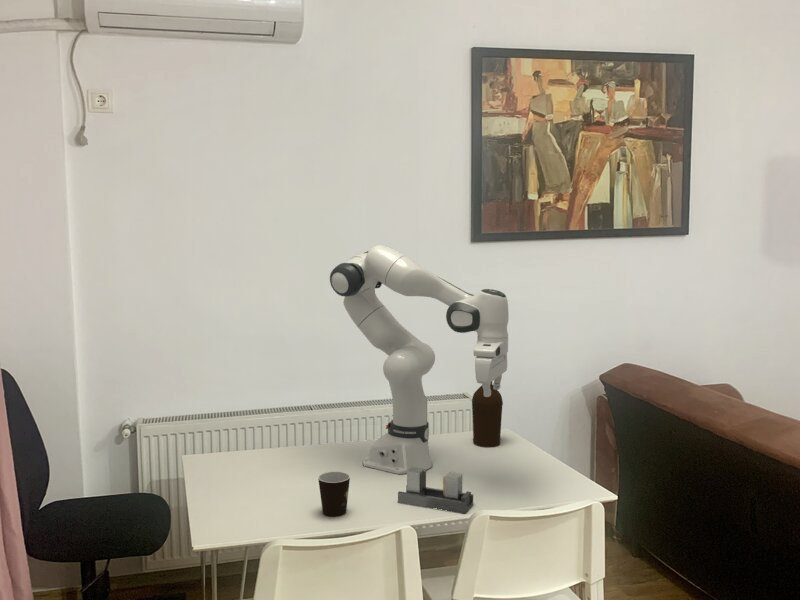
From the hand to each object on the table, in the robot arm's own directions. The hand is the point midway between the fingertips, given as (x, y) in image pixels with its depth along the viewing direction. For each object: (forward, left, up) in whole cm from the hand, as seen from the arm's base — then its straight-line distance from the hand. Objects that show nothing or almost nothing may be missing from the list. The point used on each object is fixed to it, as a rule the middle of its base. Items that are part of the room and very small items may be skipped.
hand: (492, 392), depth 223 cm
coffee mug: (-34, -32, -29) cm, 55 cm away
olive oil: (-14, +42, -29) cm, 53 cm away
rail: (-11, -17, -29) cm, 35 cm away
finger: (-6, -17, -28) cm, 33 cm away
